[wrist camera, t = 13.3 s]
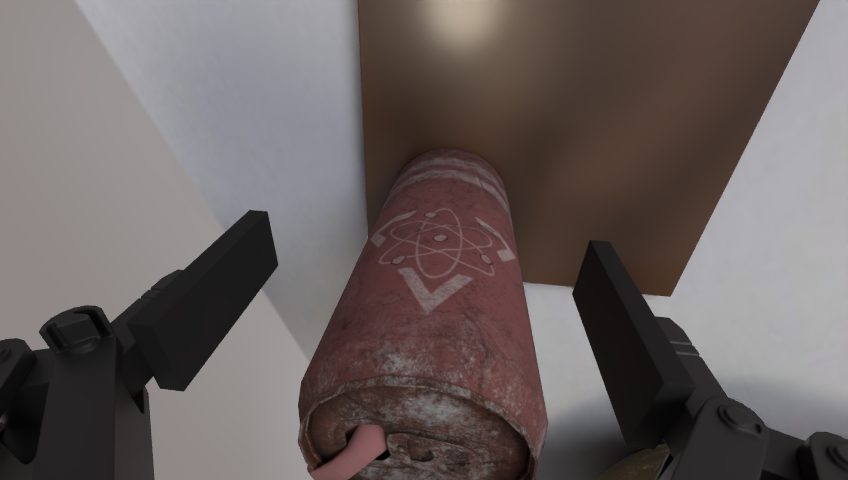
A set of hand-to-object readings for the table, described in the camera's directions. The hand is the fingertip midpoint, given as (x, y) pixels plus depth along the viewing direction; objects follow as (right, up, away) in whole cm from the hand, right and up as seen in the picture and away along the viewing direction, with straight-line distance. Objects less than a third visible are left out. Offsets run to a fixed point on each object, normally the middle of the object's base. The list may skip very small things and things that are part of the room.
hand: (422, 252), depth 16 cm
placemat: (+6, +7, +2) cm, 9 cm away
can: (+1, +3, +5) cm, 6 cm away
